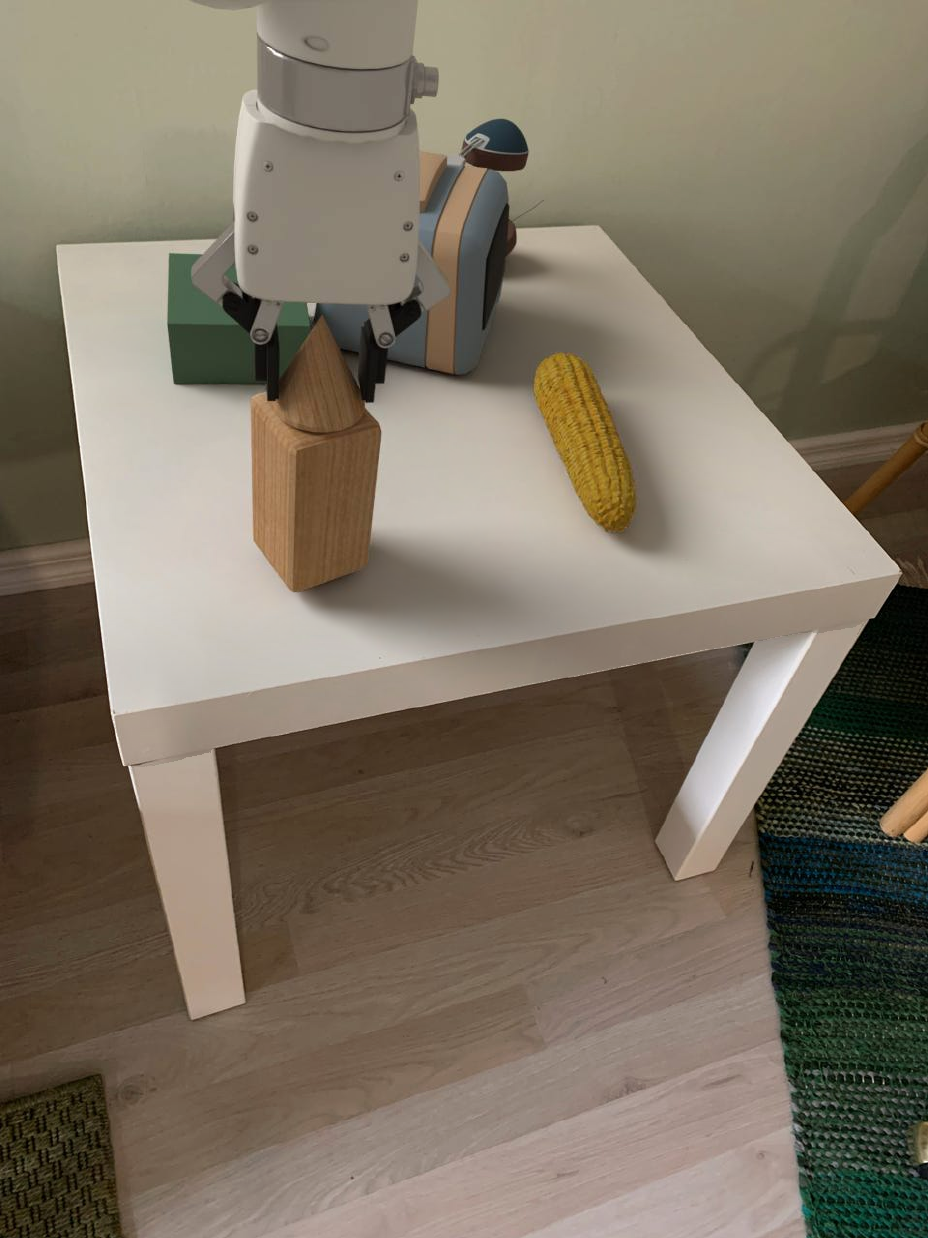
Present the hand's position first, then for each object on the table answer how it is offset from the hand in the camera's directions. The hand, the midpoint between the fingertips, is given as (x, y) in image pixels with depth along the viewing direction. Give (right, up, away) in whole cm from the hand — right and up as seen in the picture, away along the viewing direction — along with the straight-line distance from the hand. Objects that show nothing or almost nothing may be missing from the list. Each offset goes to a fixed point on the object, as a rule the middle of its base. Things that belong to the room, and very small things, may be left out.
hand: (319, 386), depth 61 cm
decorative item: (-2, -10, +11) cm, 15 cm away
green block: (-12, +11, +29) cm, 34 cm away
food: (+20, -1, +24) cm, 31 cm away
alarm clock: (+4, +15, +36) cm, 39 cm away
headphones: (+11, +25, +47) cm, 54 cm away
